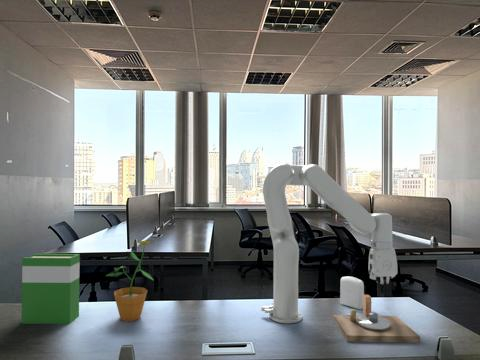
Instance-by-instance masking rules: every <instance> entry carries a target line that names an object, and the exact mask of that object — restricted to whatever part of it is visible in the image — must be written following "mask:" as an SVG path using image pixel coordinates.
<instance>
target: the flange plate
mask: <svg viewBox="0 0 480 360" xmlns="http://www.w3.org/2000/svg"><path fill="white" fill-rule="evenodd" d="M362 315H363V316H359V317H358V318H357V323H358V325H359V326H361V327H363V328H366V329H369V330H375V331H384V330H388V329H390V322H389V321H388V320H387V319H385V318H382V317H378V316H379V313H377V312H375V311H372V297H371V295H369V294H364V295H363V309H362Z"/></svg>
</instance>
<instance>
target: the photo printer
mask: <svg viewBox="0 0 480 360" xmlns="http://www.w3.org/2000/svg"><path fill="white" fill-rule="evenodd" d="M339 283H340V288H339V289H340V290H339V293H340V295H339V297H340V299H339V303H340V304H341V305H344V306H347V307H351V308H352V309H353V308H354V309H356V310H357V309H358V310H363V295H365V290H364V289H365V285H364V283H365V282H364V281H363V280H361V279H359V278H357V277H354V276H348V275H347V276H342V277H341V278H340V282H339Z"/></svg>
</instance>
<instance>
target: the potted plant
mask: <svg viewBox="0 0 480 360" xmlns="http://www.w3.org/2000/svg"><path fill="white" fill-rule="evenodd" d="M151 242H152V240H141V241H140V240H139V241H135V242H133V244H134V243H135V244H139V245H141V246H142V247H143V251H142V254H141V257H138V256H137V255H136V254H135V253H134V252H133V251H132V250H131V251H130V252H129V255H128V258H127V259H129V260H133V261H136V262H137V261H138V262H139V263H138V265H137V267H136V269H135V271H134V273H133V276H132V278H131V277H130V276H129V275H128V274H127V273H126V272H125V269H128V267H127V266H125V265H122V266H120V267H113V270H112V271H110V272H109V273H106V275H105V276H104V277H113V278H118V277H120V276H121V275H123V274H125V276H127V278H128V279H129V280H130V281H131V282H130V286H129V287H121V288H120V289H117V290H115V291H114V292H113V293H114V294H113V296H114V300H115V303H116V308H117V311H118V315H119V318H120V321H123V322H133V321H137V320H139V319H141V315H142V313H143V309H144V305H145V301H146V298H147V294H148V289H146V288H145V287H142V286H141V287H140V286H133V282H134V279H135V277H136V273H138V272H140V273H141V274H142V275H143V276H144V278H147V279H149V280H152V281H154V278H153V277H152V275H151V273H149V272H146V271H144V270H143V269H141V268H142V267H141V263H142V260H143V257H144V254H145V247H146V246H147V244H149V243H151ZM121 269H122V271H120V270H121Z"/></svg>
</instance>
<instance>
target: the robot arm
mask: <svg viewBox="0 0 480 360" xmlns="http://www.w3.org/2000/svg"><path fill="white" fill-rule="evenodd" d="M287 186H308V187H309V188H310V190H312V191H313V192H314V193H315V194H316V195H317V196H318V198H320V199H321V200H322V201H323V202H324V203H325V204H326V205H327V206H329V207H330V208H331V209H332V210H335V211H336V212H338V214H340V215H341V216H342V217H343V218H344V219H345V220H347V222H348V223H349V227H350V228H351V229H352V230H353V231H356V232H357V233H360V234H362V235H370V234H371V235H370V237H371V239H370V240H371V242H369V244H368V245H369V247H371V248H369V254H368V274H369V279H371V280H374V281H376V283H377V292H378V293H379V294H381V295H388V285H389V283H390V281H391V279H393V278H395V277H396V275H398V273H399V272H398V270H399V269H398V258H397V254H396V250H395V248H394V246H393V243H394V242H393V217H392V215H391V214H390V213H388V212H374V213H370V212H369V211H368V210H367V209H365V207H364V206H363V205H361V204H360V203H359V202H358V201H357V200H356V199H355V197H354V198H353V197H352V195H350V194H349V193H348V191H346V190H345V189H344V188H343V187H342V186H341V185H339V183H337V181H335V180H334V179H333V178H332V177H331V176H330V175H329V174H328V173H327V172H326V171H325V170H324V169H323V168H322V167H321V166H320V165H318V164H316V163H315V164H314V163H311V164H304V165H301V164H300V165H299V164H298V165H297V164H289V163H288V162H287V163H286V162H281V163H277V164H276V165H275V166H273V167H272V168H271V169H270V170H269V172H268V173H267V174H266V176H265V177H264V181H263V185H262V196H263V200H264V206H265V212H266V216H267V224H268V225H267V226H268V229H269V231H270V232H269V233H270V237H271V241H272V246H273V275H272V276H273V289H272V290H273V302H272V303H271V304H270V305H269V306H266V305H262V306H261V312H264V313H265V314H269V316H268V317H269V319H270V320H272V321H274V322H275V323H276V322H277V323H280V324H296V323H298V322H300V321H302V318H303V315H302V313H301V312H300V311H299V262H300V261H299V259H300V248H299V247H300V246H299V244H298V241H297V240H296V238H295V237H296V236H295V233H294V228H293V224H292V223H293V220H292V216H291V214H290V213H291V212H290V211H289V206H288V202H287V197H286V196H287V195H286V187H287Z"/></svg>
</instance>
